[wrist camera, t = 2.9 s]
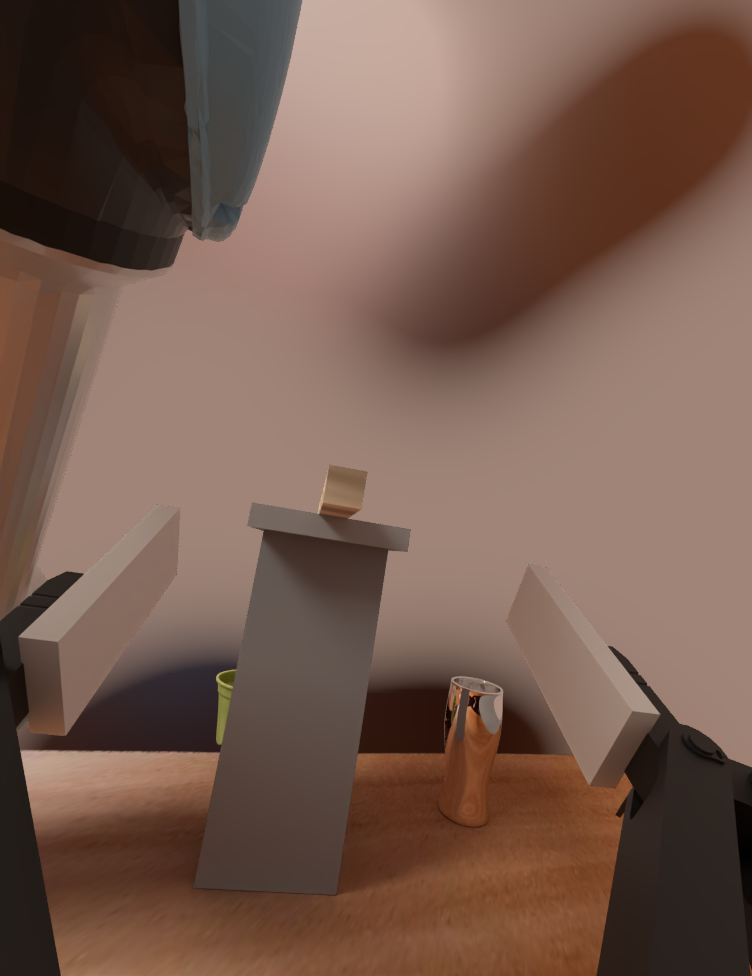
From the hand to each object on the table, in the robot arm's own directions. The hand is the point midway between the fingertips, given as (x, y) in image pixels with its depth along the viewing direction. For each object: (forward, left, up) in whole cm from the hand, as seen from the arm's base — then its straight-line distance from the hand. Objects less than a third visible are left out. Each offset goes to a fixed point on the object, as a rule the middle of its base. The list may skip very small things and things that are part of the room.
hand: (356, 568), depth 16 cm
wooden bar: (-8, +23, +3) cm, 24 cm away
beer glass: (+8, +44, -29) cm, 53 cm away
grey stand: (-10, +27, -29) cm, 41 cm away
